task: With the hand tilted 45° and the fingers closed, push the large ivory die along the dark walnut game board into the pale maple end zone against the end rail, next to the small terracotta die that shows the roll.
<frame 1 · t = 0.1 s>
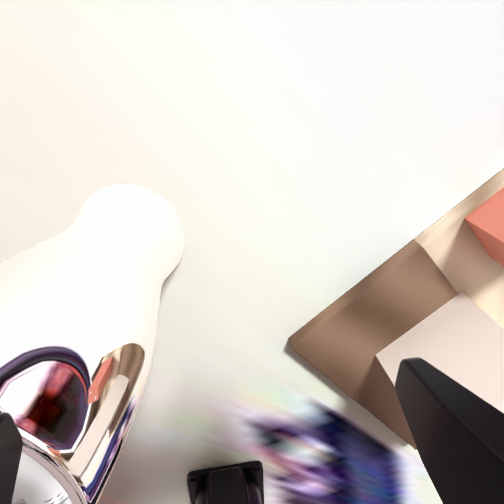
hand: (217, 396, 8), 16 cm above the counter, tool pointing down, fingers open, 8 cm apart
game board: (459, 320, 30), on the counter
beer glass: (133, 232, 23), on the counter, touching gripper
ivory die: (441, 350, 30), point 1 cm above the counter, touching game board
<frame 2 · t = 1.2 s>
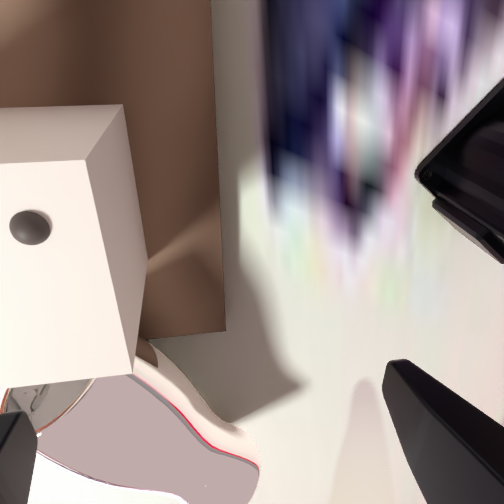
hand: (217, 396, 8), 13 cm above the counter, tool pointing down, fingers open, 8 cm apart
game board: (1, 189, 18), on the counter
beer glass: (224, 473, 27), point 3 cm above the counter, touching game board
ivory die: (50, 195, 17), point 1 cm above the counter, touching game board
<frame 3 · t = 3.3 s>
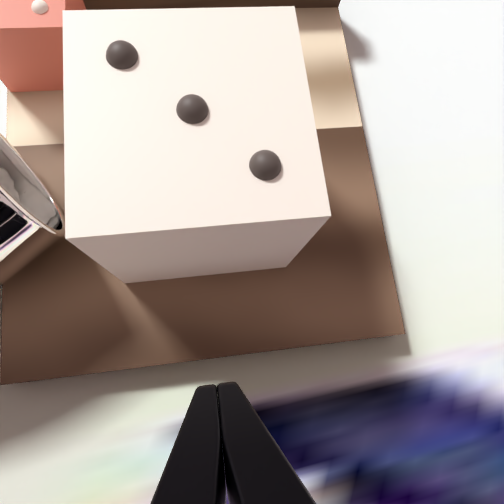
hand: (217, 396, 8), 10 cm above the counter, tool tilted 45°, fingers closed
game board: (196, 164, 21), on the counter
terracotta die: (52, 56, 20), point 1 cm above the counter, touching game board
ivory die: (200, 200, 19), point 1 cm above the counter, touching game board
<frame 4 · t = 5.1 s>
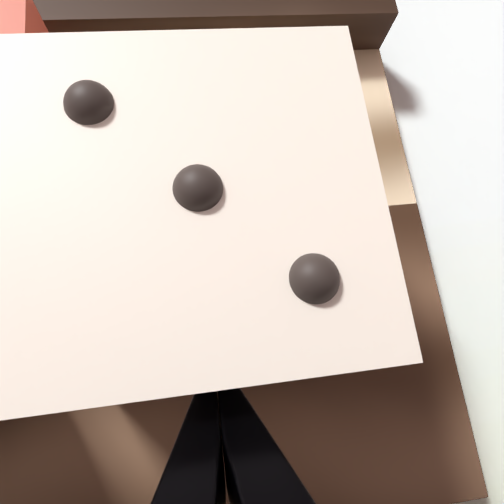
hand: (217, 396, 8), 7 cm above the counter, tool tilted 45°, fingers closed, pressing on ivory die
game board: (203, 253, 16), on the counter
terracotta die: (17, 118, 16), point 1 cm above the counter, touching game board
ivory die: (205, 271, 15), point 1 cm above the counter, touching gripper
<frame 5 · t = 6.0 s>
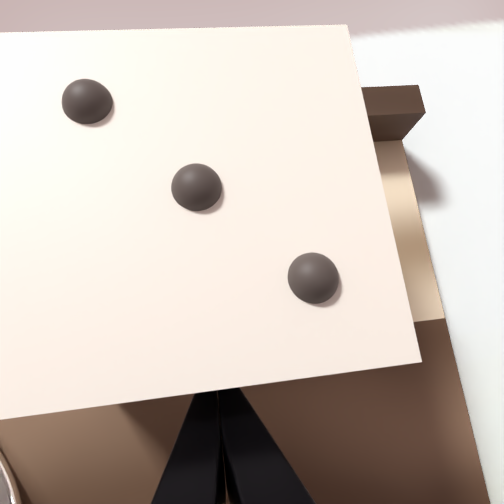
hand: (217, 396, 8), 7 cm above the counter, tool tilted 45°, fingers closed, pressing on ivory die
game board: (215, 374, 15), on the counter
ivory die: (204, 270, 15), point 1 cm above the counter, touching gripper
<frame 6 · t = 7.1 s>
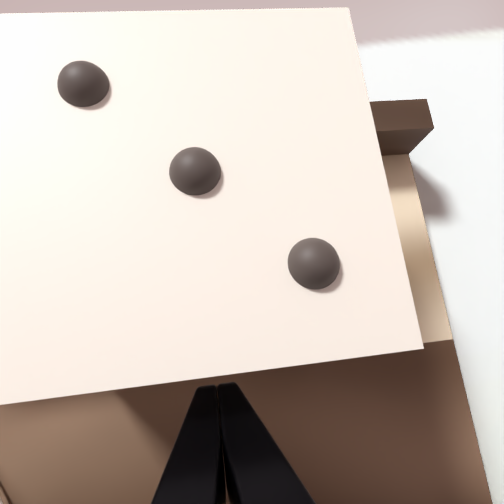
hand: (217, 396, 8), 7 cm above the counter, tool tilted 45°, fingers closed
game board: (217, 396, 15), on the counter
ivory die: (203, 261, 15), point 1 cm above the counter, touching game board
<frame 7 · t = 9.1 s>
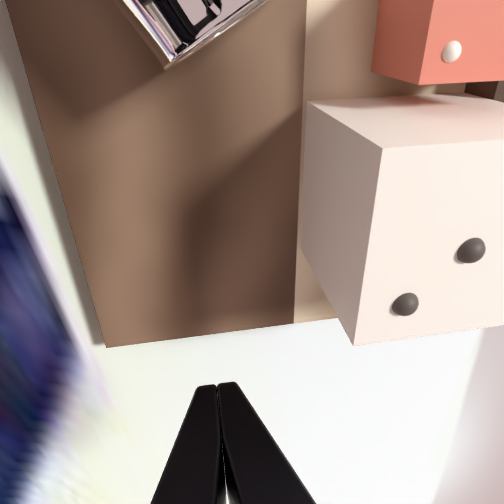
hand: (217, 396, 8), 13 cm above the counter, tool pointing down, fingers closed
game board: (274, 176, 20), on the counter
terracotta die: (422, 17, 16), point 1 cm above the counter, touching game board
ivory die: (375, 175, 20), point 1 cm above the counter, touching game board
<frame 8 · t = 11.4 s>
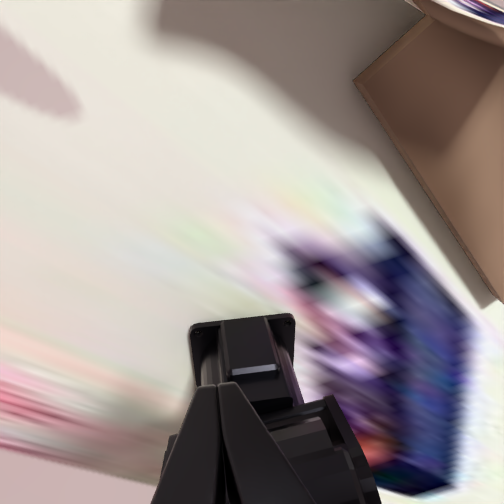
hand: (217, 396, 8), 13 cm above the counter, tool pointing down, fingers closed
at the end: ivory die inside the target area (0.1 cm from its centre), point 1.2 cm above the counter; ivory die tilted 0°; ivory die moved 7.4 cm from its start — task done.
